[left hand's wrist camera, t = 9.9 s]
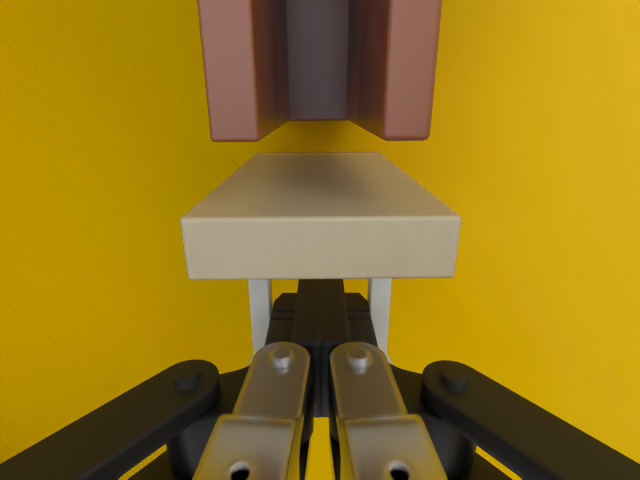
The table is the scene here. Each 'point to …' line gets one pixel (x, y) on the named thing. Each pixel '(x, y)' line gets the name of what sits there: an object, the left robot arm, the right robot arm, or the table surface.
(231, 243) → the drawer
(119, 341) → the table surface
